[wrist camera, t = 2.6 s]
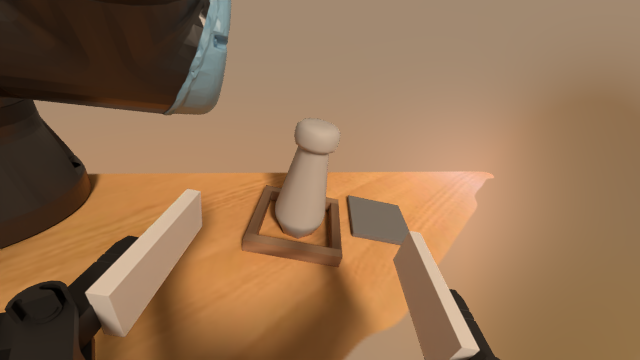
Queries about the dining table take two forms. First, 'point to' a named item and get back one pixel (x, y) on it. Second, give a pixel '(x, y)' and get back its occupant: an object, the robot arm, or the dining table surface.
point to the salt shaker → (307, 178)
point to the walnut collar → (292, 248)
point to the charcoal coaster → (376, 220)
